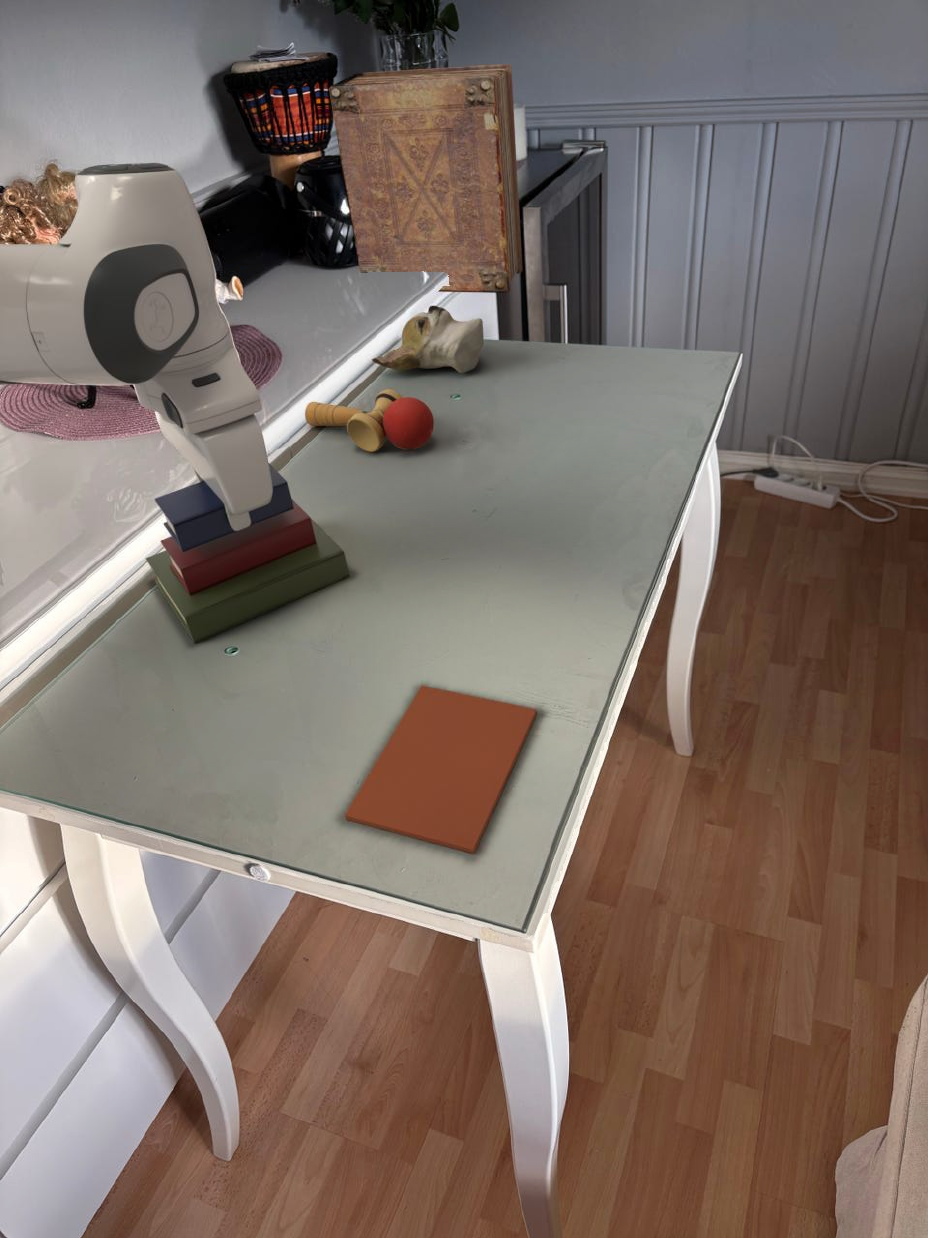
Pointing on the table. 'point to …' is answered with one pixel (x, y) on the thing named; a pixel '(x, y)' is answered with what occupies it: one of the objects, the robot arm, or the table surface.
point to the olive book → (251, 587)
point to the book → (432, 173)
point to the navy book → (213, 512)
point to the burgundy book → (241, 550)
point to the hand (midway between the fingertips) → (227, 511)
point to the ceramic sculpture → (437, 343)
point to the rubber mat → (443, 768)
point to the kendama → (379, 421)
